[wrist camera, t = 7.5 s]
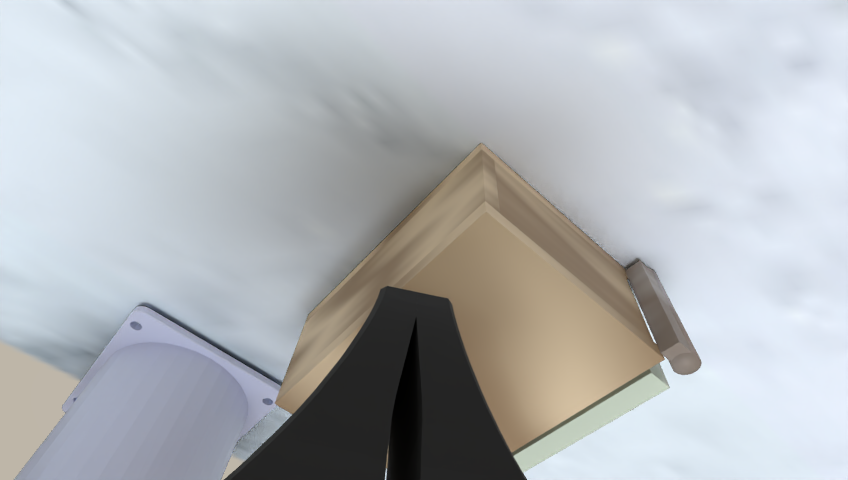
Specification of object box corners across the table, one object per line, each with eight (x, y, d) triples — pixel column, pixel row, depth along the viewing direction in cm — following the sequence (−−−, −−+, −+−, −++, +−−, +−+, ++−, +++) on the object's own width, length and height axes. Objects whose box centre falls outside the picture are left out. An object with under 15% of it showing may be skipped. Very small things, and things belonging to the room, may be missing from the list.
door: (474, 429, 27) (476, 519, 23) (444, 410, 26) (441, 499, 22) (648, 314, 22) (687, 402, 18) (617, 288, 22) (651, 372, 18)
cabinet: (460, 414, 27) (459, 510, 22) (308, 314, 24) (274, 403, 20) (660, 275, 22) (708, 366, 17) (496, 127, 19) (505, 193, 14)
